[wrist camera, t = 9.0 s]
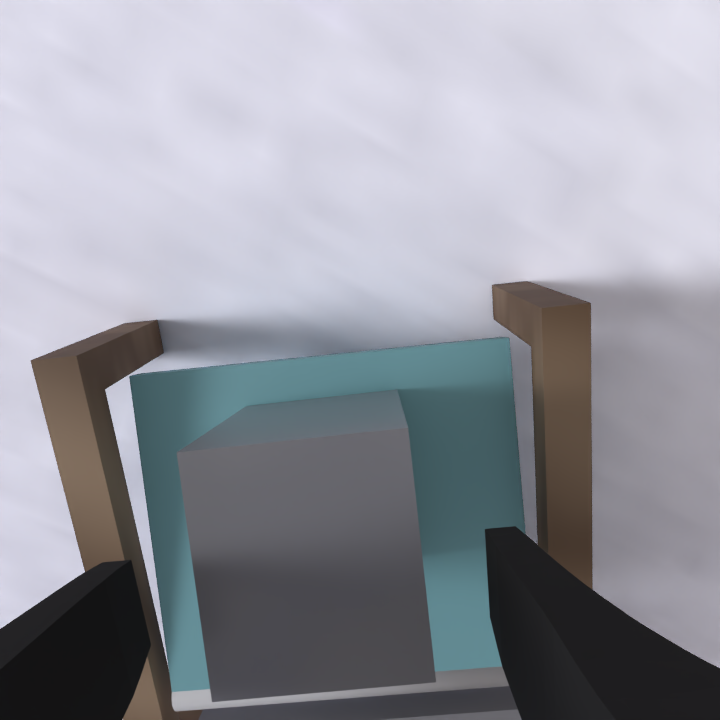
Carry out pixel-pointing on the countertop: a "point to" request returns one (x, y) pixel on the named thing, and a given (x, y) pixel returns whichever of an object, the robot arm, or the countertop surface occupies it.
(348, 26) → the countertop surface
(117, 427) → the countertop surface
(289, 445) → the gray block
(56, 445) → the frame
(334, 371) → the trapdoor
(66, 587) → the robot arm
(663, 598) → the countertop surface
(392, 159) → the countertop surface
